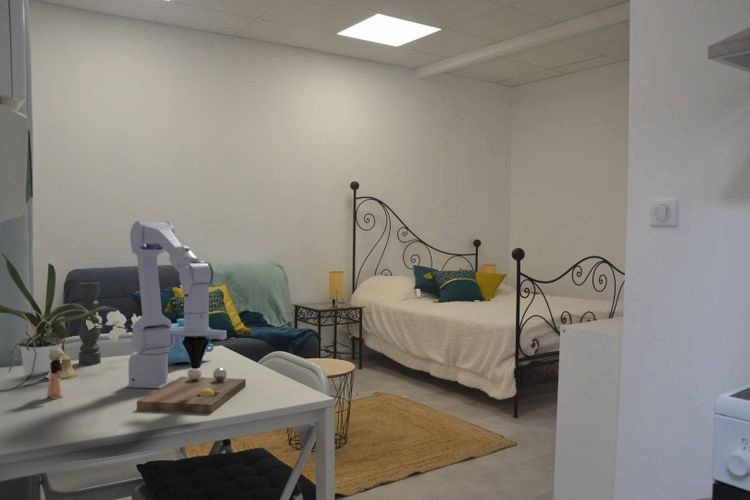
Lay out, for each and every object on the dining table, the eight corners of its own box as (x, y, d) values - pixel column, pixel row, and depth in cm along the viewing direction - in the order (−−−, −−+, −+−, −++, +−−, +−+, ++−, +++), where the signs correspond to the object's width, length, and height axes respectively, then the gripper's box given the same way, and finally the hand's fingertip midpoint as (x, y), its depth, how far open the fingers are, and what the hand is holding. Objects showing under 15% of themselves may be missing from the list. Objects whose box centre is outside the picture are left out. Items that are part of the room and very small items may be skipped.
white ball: (185, 381, 158) (185, 368, 158) (191, 378, 161) (191, 365, 161) (198, 381, 157) (198, 368, 157) (203, 378, 161) (203, 365, 161)
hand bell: (79, 377, 169) (78, 321, 168) (45, 381, 164) (45, 323, 164) (76, 371, 176) (75, 317, 175) (43, 375, 171) (43, 319, 171)
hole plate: (136, 409, 139) (136, 401, 139) (181, 383, 163) (181, 376, 163) (211, 413, 137) (211, 404, 137) (245, 386, 161) (245, 379, 161)
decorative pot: (144, 362, 189) (143, 319, 189) (186, 354, 202) (186, 314, 202) (176, 369, 180) (176, 324, 179) (218, 360, 193) (218, 318, 193)
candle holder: (78, 365, 183) (77, 284, 182) (79, 361, 189) (78, 282, 188) (100, 364, 185) (100, 283, 185) (100, 360, 191) (100, 282, 190)
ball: (207, 407, 144) (194, 399, 144) (212, 403, 147) (200, 396, 147) (213, 394, 144) (201, 387, 144) (218, 391, 147) (206, 384, 147)
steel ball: (211, 382, 157) (211, 369, 157) (216, 379, 160) (216, 366, 160) (223, 382, 157) (223, 369, 156) (228, 379, 160) (228, 366, 160)
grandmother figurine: (41, 395, 150) (41, 345, 149) (57, 392, 153) (57, 343, 152) (53, 401, 145) (53, 349, 144) (70, 398, 148) (70, 347, 147)
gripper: (160, 313, 142) (160, 370, 142) (219, 315, 140) (218, 372, 141) (173, 309, 149) (173, 363, 149) (229, 311, 147) (229, 366, 148)
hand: (196, 367), depth 146 cm, fingers closed
